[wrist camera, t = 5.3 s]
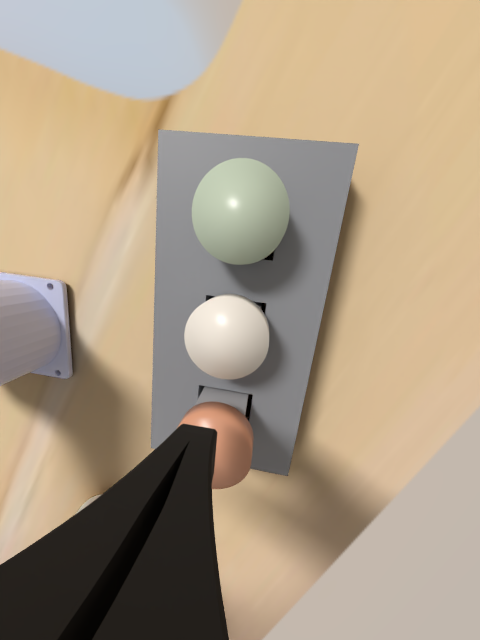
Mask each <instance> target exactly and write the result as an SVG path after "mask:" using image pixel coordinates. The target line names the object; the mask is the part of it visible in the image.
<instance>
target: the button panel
mask: <svg viewBox="0 0 480 640" xmlns="http://www.w3.org/2000/svg"><path fill="white" fill-rule="evenodd" d="M358 145H359V144H353V143H339V142H325V141H311V140H297V139H283V138H269V137H255V136H241V135H228V134H213V133H199V132H185V131H172V130H159V133H158V174H157V215H156V257H155V298H154V339H153V380H152V422H151V448H154V449H156V448H157V447H158V446H159V445H160V444H161V443H162V442H163V441H165V440H166V439H167V438H168V437H169V436H170V435H171V434H172V433H173V432H174V431H175V430H176V429H177V427H178V425H179V424H180V422H181V420H182V418H183V417H184V415H185V414H186V412H187V411H188V410H189V409H191V408H192V407H193V406H195V404H196V402H197V400H198V398H199V396H200V394H201V392H202V391H203V389H204V387H205V386H207V387H213V388H219V389H224V390H230V391H236V392H241V393H247V394H253V396H252V403H251V409H250V416H249V417H246V418H247V420H248V421H249V423H250V425H251V427H252V430H253V436H254V440H253V451H252V461H251V467H250V468H251V469H255V470H260V471H265V472H270V473H275V474H280V475H285V476H288V473H289V468H290V463H291V459H292V454H293V449H294V445H295V440H296V435H297V431H298V426H299V421H300V417H301V412H302V407H303V403H304V398H305V393H306V389H307V384H308V379H309V374H310V370H311V365H312V360H313V356H314V351H315V346H316V342H317V337H318V332H319V328H320V323H321V318H322V314H323V309H324V304H325V300H326V295H327V290H328V286H329V281H330V276H331V271H332V267H333V262H334V257H335V253H336V248H337V243H338V239H339V234H340V229H341V225H342V220H343V215H344V211H345V206H346V201H347V197H348V192H349V187H350V183H351V178H352V173H353V169H354V164H355V159H356V154H357V150H358ZM235 158H249V159H254V160H257V161H259V162H261V163H264V164H265V165H267V166H268V167H270V168H271V169H272V170H273V171H274V172H275V173H276V174H277V175H278V176H279V178H280V179H281V181H282V183H283V184H284V186H285V189H286V191H287V195H288V198H289V206H290V214H289V221H288V226H287V229H286V232H285V234H284V236H283V238H282V240H281V242H280V244H279V245H278V247H277V248H276V249H275V250H274V255H273V261H271V260H263V259H262V260H261V261H258V262H256V263H252V264H244V265H235V264H229V263H226V262H223V261H221V260H219V259H217V258H215V257H214V256H212V255H211V254H210V253H209V252H207V250H206V249H205V248H204V247H203V246H202V244H201V243H200V241H199V240H198V238H197V236H196V233H195V230H194V227H193V222H192V203H193V198H194V195H195V192H196V189H197V187H198V185H199V183H200V182H201V180H202V179H203V177H204V176H205V175H206V174H207V173H208V172H209V171H210V170H211V169H212V168H214V167H215V166H217V165H218V164H220V163H222V162H224V161H227V160H230V159H235ZM222 294H237V295H241V296H244V297H247V298H249V299H250V300H252V301H254V302H261V303H266V309H265V316H266V318H267V321H268V325H269V348H268V352H267V355H266V357H265V359H264V361H263V362H262V364H261V365H260V366H259V367H258V368H257V369H256V370H255V371H254V372H252V373H251V374H249V375H247V376H245V377H242V378H238V379H220V378H216V377H213V376H211V375H209V374H207V373H205V372H204V371H202V370H201V369H200V368H198V367H197V366H196V364H195V363H194V362H193V361H192V359H191V358H190V356H189V354H188V352H187V349H186V346H185V340H184V332H185V327H186V323H187V321H188V319H189V317H190V315H191V314H192V313H193V311H194V310H195V309H196V308H197V307H198V306H200V305H201V304H203V303H204V302H206V301H208V300H209V299H211V298H213V297H215V296H218V295H222Z"/></svg>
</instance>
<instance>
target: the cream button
mask: <svg viewBox="0 0 480 640" xmlns="http://www.w3.org/2000/svg"><path fill="white" fill-rule="evenodd" d="M261 305H262V303H261V302H254V301H252V300H250V299H249V298H247V297H244V296H241V295H237V294H222V295H218V296H215V297H213V298H211V299H209V300H208V301H206V302H204V303H203V304H201V305H200V306H198V307H197V308H196V309H195V310H194V311H193V313H192V314H191V315H190V317H189V319H188V321H187V323H186V327H185V332H184V340H185V346H186V349H187V352H188V354H189V356H190V358H191V359H192V361H193V362H194V363H195V364H196V366H197V367H198V368H200V369H201V370H202V371H204V372H205V373H207V374H209V375H211V376H213V377H216V378H220V379H238V378H242V377H245V376H247V375H249V374H251V373H252V372H254V371H255V370H256V369H257V368H258V367H259V366H260V365H261V364H262V362H263V361H264V359H265V357H266V355H267V352H268V348H269V325H268V321H267V318H266V316H265V314H264V313H263V311H262V310H261Z"/></svg>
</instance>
